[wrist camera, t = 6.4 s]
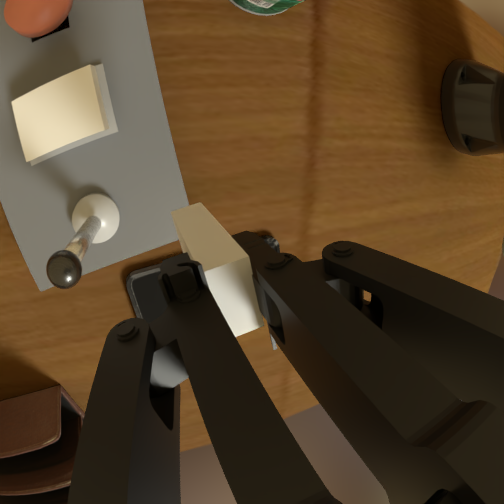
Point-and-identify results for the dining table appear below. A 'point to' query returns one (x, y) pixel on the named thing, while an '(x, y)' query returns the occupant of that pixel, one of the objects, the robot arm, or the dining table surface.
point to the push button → (36, 15)
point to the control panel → (90, 142)
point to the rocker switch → (60, 112)
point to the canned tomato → (265, 6)
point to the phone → (157, 288)
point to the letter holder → (38, 446)
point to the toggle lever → (72, 256)
